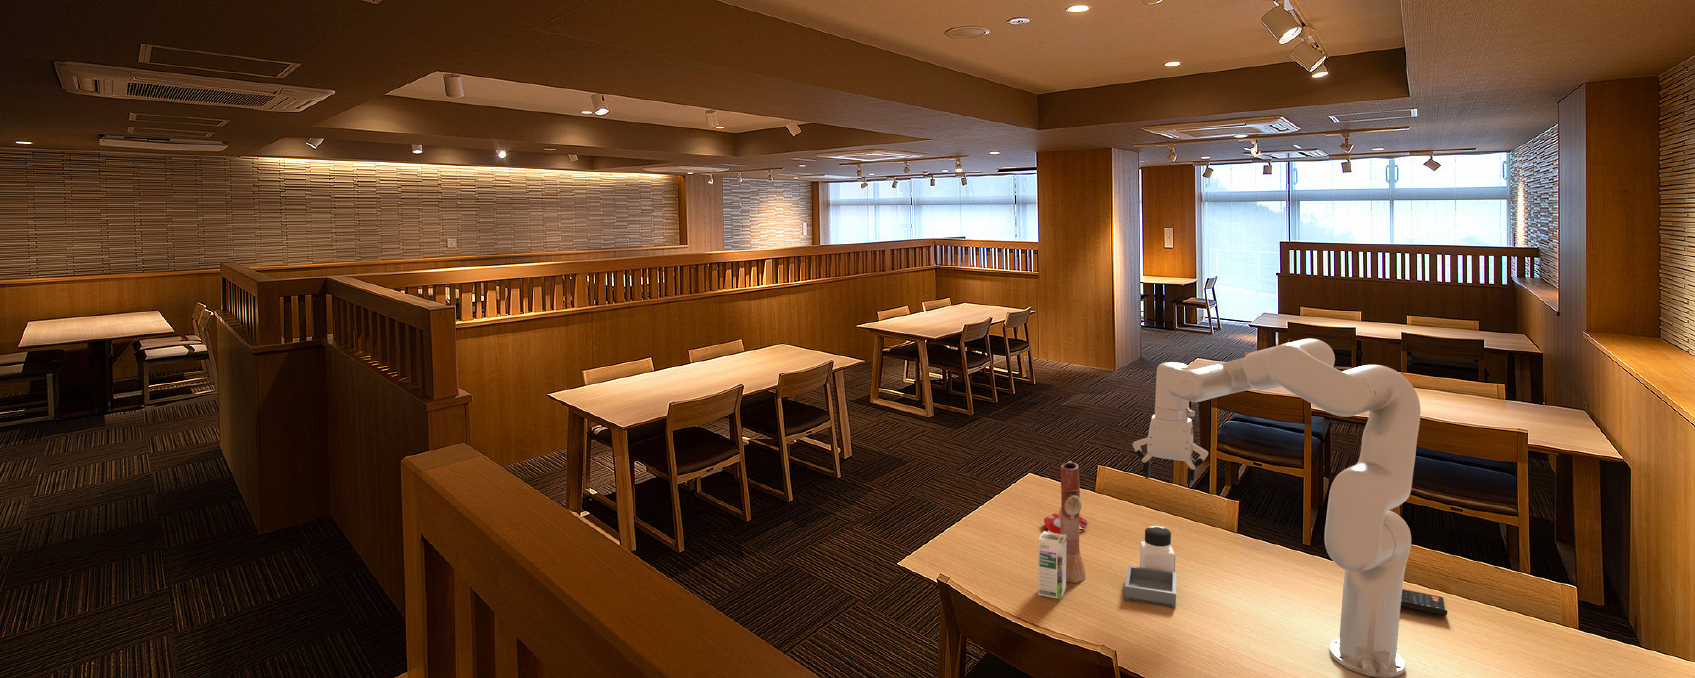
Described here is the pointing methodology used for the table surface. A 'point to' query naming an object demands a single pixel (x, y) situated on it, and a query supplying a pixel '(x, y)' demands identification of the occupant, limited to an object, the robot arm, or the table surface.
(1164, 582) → the bin
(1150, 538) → the medicine bottle
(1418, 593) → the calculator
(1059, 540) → the syrup box
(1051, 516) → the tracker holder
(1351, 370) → the robot arm
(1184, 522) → the table surface
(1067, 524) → the vase
